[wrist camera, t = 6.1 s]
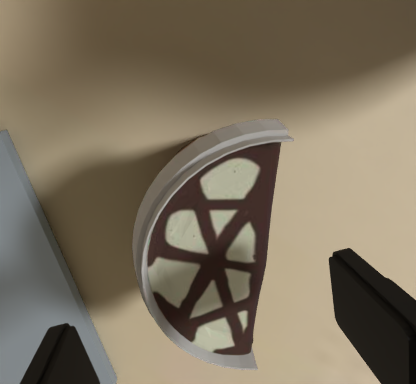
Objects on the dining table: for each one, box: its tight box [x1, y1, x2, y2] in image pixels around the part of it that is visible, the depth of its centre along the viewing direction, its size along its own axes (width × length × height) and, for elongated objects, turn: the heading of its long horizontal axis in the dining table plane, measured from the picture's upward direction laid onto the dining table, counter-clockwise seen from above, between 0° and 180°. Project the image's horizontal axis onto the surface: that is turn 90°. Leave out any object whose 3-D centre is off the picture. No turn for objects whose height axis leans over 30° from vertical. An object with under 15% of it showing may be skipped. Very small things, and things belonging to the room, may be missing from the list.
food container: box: [132, 119, 294, 370], centre depth 17 cm, size 12×6×10 cm, turn 176°
